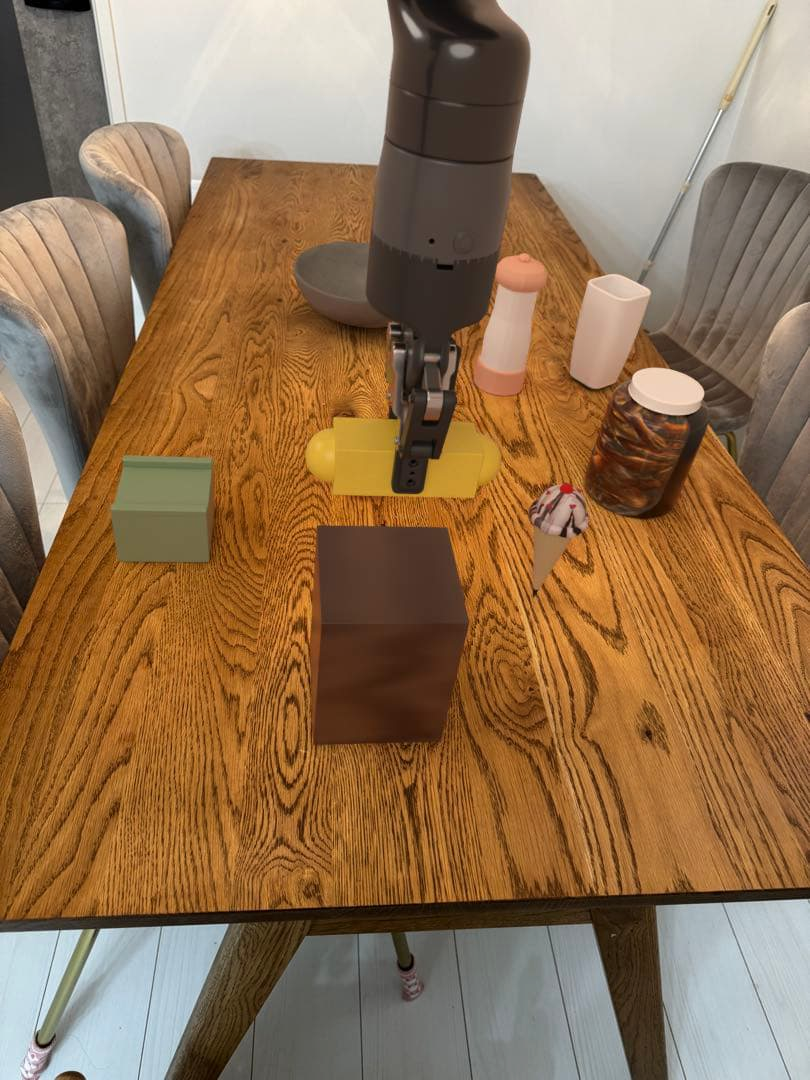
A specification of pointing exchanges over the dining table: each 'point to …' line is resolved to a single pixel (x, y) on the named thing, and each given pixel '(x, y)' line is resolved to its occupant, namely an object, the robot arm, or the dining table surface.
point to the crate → (384, 634)
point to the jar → (647, 443)
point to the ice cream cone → (555, 527)
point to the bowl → (338, 283)
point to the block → (164, 509)
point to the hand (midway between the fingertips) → (403, 469)
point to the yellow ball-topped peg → (368, 455)
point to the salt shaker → (510, 326)
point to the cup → (607, 329)
